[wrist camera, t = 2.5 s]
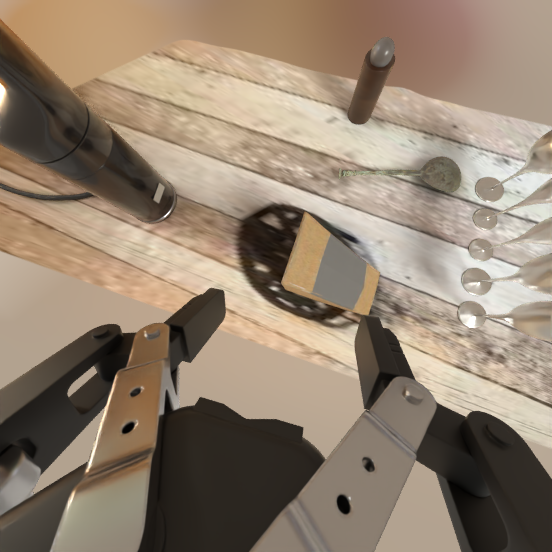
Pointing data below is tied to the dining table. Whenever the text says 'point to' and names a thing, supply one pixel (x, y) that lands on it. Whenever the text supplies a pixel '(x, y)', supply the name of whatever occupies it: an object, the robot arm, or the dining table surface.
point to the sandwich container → (329, 270)
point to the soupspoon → (425, 174)
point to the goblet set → (534, 274)
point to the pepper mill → (371, 80)
